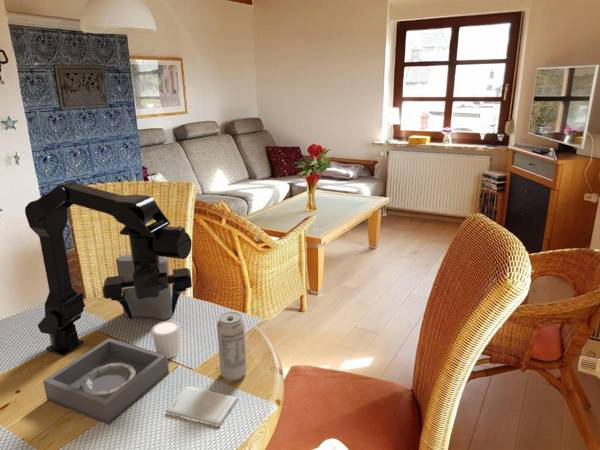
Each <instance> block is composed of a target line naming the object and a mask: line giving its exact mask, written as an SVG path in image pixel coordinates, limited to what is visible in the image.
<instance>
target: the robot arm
mask: <svg viewBox="0 0 600 450" xmlns="http://www.w3.org/2000/svg"><path fill="white" fill-rule="evenodd" d="M73 205H76V206H78V207H79V206H80V207H82V208H85V209H89V210H93V211H97V212H99V213H103V214H105V215H106V214H107V215H109V216H112V217H113V218H114V219H115V220H116V222H118V223H120V224H122V225H124V227H123V228H122V229H121V230H120V231H119V234H120V235H122V236H128V238H129V245H130V255H132V263H133V270H134V272H133V280H125V281H124V277H123V275H122V276H118V275H115V276H106V278H104V280H103V281H104V282H103V286H102V294H103V299H106V300H107V299H110V300H111V301H112V302H113V301H116V302H118V303H119V304H120V306H121V307H122V309H123V308H124V309H125V311H126V313H127V314H128V316H129V317H128V318H129V320H133V318H134V317H133V316H132V309H131V305H130V300H129V296H128V292H127V289H131V288H135V293H136V297H137V298H138V299H144V298H149V297H153V298H154V297H158V296H159V295H160V291H161V290H164V289H165V288H168V284H170V285H171V284H172V285H171V296H172V314H173V315H175V311H176V308H177V305H178V301H179V297H180V295H181V294H182V293H183V292H187V289H190V288H192V287H193V284H192V277H191V276H192V274H191V269H189V268H188V267H183V268H182V267H181V268H175V269H174V268H173V269H172V274H169V275H167V272H164V273H161V270H160V261H159V256H161V257H165V258H170V259H177V260H178V259H180V260H185V259H187V258H188V257H189V255H190V253H191V250H192V242H193V241H192V238H191V237H190V235H189V234H188V232H186V228H185V226H170V225H171V222H170V220H169V219H168V218H167V216H166V215H165V214H164V212H163V211H162V210H161V208H160V207H159V206H158V204H157V202H156V200H155V198H153V197H152V196H149V195H144V194H125V195H124V194H117V193H113V192H110V191H107V190H102V189H100V188H96V187H92V186H88V185H84V184H81V183H79V182H77V181H73V180H71V181H67V182H64V183H61V184H58V185H56V186H55V187H54V188H53V189H51V190H50V191H49V192H47V193H46V194H44V195H43V196H41V197H39V198H38V199H36V200H33V201H30V202H28V204H27V205H26V206H25V208H24V213H25V216H26V220H27V222H28V223H27V224H28V226H29V228H30V230H32V231H33V232H34V233H35V234H36V235H37V236H38V238H39V242H40V247H41V253H42V259H43V264H44V268H45V273H46V274H45V275H46V280H47V284H48V285H47V286H48V291H49V292H48V295H47V297H46V300H45V303H44V317H43V318H42V319H41V320H40V322H39V323H38V324H37V328H38V330H39V331H40V333H42V334H48V336H49V341H50V345H48V346H47V347H46V348H45V349H46V351H47V352H51V353H54V354H56V355H60V356H65V355H67V354H69V353H71V352H72V351H73V350H75V349H77V348H79V346H81V345H83V344H84V343H85V340H82V339H79V336H78V335H79V334H78V331H77V328H76V324H75V322H77V321H78V320H80V319H81V317H82V314H83V313H84V308H85V307H86V303H85V302H84V301H85V300H84V294H83V293H82V292H78V291H77V290H76V289H74V287H73V286H72V281H71V273H70V268H69V262H68V257H67V250H66V243H65V238H64V230H65V228H66V226H67V223H68V219H69V216H68V212H69V211H68V209H69V208H71V206H73ZM152 221H154V222H152ZM150 222H152V223H150ZM148 223H150V224H149V225H147V224H148Z"/></svg>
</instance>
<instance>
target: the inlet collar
mask: <svg viewBox="0 0 600 450" xmlns="http://www.w3.org/2000/svg"><path fill="white" fill-rule="evenodd" d="M110 371H124V372H127V373H129V374H130V377H129V380H131V379H132V378H133V377H134V376H136V371H135V369H134V368H133V366H132V365H129V364H125V363H110V364H107V365H104V366H101V367H98V368H96V369H94V370H93V371H91V372H90V373H89V374H87V375H86V376H85V378H84V380H83V382H82V383H81V385H82V390H83V391H86V392H88V393H91V394H94V395H96V396H99V397H102V398H104V399H107V398H108V397H109V396H110V395H112V394H113V393H114V392H115V391H117V390H118V389H119V388H120V387H122V386H123V385H124V384H126V383H127V382H128V381H129V380H128V381H126V382H125V383H124V384H123V385H121V386H120V387H117V388H114V389H112V390H109V391H94V390H92V389H89V388H88V386H89V385H90V383H91V381H92V380H94V379H95V378H97V377H98V376H99V375H102V374H105V373H108V372H110Z"/></svg>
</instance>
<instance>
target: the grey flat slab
mask: <svg viewBox="0 0 600 450" xmlns="http://www.w3.org/2000/svg"><path fill="white" fill-rule="evenodd" d="M238 401H239V397H237V396H233V395H228V394H224V393H220V392H219V393H218V392H216V391H211V390H206V389H201V388H197V387H193V386H189V385H188V386H185V387H184V389H183V390H182V391H181V392H180V393H179V394H178V395H177V396H176V397H175V399H174V400H173V401H172V402H171V404H170V405H169V406H168V407H167V408H166V410H165V414H166V413H169V414H174V415H177V416H183V417H187V418H190V419H195V420H199V421H203V422H207V423H210V424H213V425H218V426H221V427H222V425H223V424H224V422H225V421H226V419H227V418H228V416H229V415H230V414H231V411H232V410H233V409H234V408H235V406H236V404H237V403H238ZM169 414H168V415H169ZM228 414H229V415H228ZM177 416H176V417H177ZM226 417H227V418H226ZM224 420H225V421H224ZM222 423H223V424H222ZM221 424H222V425H221ZM213 425H212V426H213Z"/></svg>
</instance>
